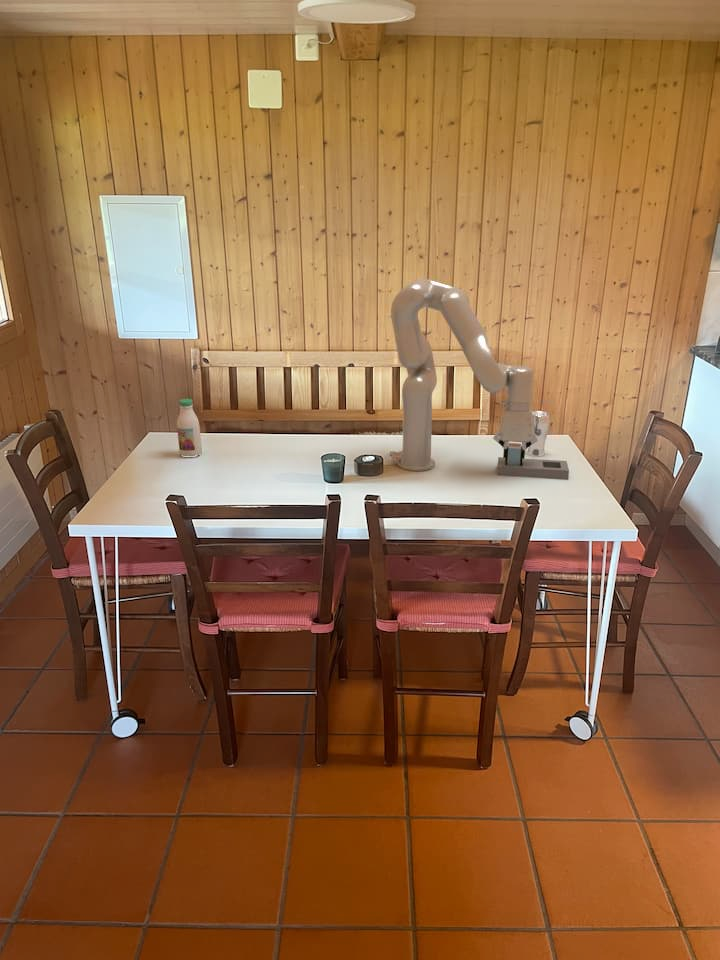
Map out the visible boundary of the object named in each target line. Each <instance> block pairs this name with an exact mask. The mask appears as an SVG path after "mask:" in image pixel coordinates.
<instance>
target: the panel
mask: <svg viewBox="0 0 720 960" xmlns="http://www.w3.org/2000/svg"><path fill="white" fill-rule="evenodd" d="M569 473H570V468H569V466H568V461H567V460H557V459H555V460H554V459H538V458H524V459H522V462H520V466H512V465H507V461H505V458H503V456H502V457H501V456H498V458H497V474H496V475H497V476H502V477H520V478H531V479H532V478H536V479H537V478H538V479H553V480H569Z"/></svg>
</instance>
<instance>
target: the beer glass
mask: <svg viewBox="0 0 720 960" xmlns="http://www.w3.org/2000/svg"><path fill="white" fill-rule="evenodd" d="M532 413H533V433H534V434H535V436H536V438H537V442H536V443H534V444H532V445H531V446H529V447H528V448H527V452H526V454H527V455H528V456H531V457H536V458H537V457H543V456H545V455H546V453H545V444H546V440H547V436H548V433H549V428H550V427H549V426H550V413H549V412H547V411H544V410H543V411H542V410H534V411H533V410H532Z"/></svg>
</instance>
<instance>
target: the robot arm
mask: <svg viewBox="0 0 720 960" xmlns="http://www.w3.org/2000/svg"><path fill="white" fill-rule="evenodd" d="M424 308H428V309H431V310H435V311H439V312H440V314H441V315H442V317H443V318H444V320H445V322H446V323H447V325H448V326H449V328H450V330H451V332H452V334H453V335H454V337H455V339H456V340H457V342H458V343H459V345H460V347H461V350H462V352H463V354H464V356H465V358H466V361H467V363H468V364H469V367H470V368H471V371H472V372H473V374H474V376H475V378H476V379H477V380H478V383H479V384H480V385H481V387H482V388H483V390H485V391H486V392H487V393H490V394H497V393H500V392H502V391H503V390H504V388H505V387H506V397H505V398H506V399H505V400H504V401H501V406H503V407H504V408H503V410H502V414H501V417H500V418H501V419H500V425H499V429H498V431H497V432H496V433H495V434H494V436H493V440H494V441H496V442H497V443H498V444H499V445H500V446H501V447H502V449H503V456H502V457H503V458H505V461H507V459H508V443H521V457H520V462H522V459H525V458H526V457H525V455H526V450H528V448H529V446H531V445H532V444H534V443H536V442H537V438H536V436H535V434H534V433H533V413H532V411H533V410H532V409H531V402H532V392H533V380H534V379H533V378H534V371H533V369H532V368H531V367H530V366H527V365H509V364H504V363H499V362H497V361H496V360H495V358H494V355H493V354H492V351H491V348H490V347H489V343H488V337H487V333H486V331H485V329H484V327H483V325H482V324H481V322H480V320H479V319H478V317H477V316H476V313H475V312H474V310H473V309H472V307H471V306H470V298H469V296H468V293H467V292H466V291H465V290H463V289H462V288H458V287H456V286H451V285H447V284H444V283H441V282H437V281H433V280H431V279H428V278H427V279H426V278H418V279H415V280H414V281H412V282H410V283H408V284H406V286H404V287H403V288H402V289H400V291H398V293H396V295H395V297H394V299H393V301H392V303H391V308H390V319H391V323H392V329H393V333H394V334H393V335H394V340H395V346H396V352H397V358H398V360H399V362H400V365H401V366H402V367H403V368H405V369H406V371H407V372H406V373H407V377H406V378H405V380H404V381H403V383H402V388H401V389H402V390H401V397H402V398H401V399H402V450H398V451H395V450H394V451H393V450H392V451H391V450H390V451H389V457H390V458H392V460H397V466H398V467H400V468H401V469H403V470H406V471H413V472H420V471H421V472H423V471H429V470H431V469H433V468H435V467H436V460H435V459H434V458H433V457H432V454H431V453H432V429H433V426H432V425H433V401H432V400H433V392H434V390H435V389H436V386H437V383H438V382H437V381H438V376H437V372H436V366H435V360H434V354H433V349H432V346H431V344H430V342H429V340H428V339H427V338H426V337H425V336H423V334H422V329H421V324H420V320H419V312H420V310H421V309H424Z"/></svg>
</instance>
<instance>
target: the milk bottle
mask: <svg viewBox="0 0 720 960" xmlns="http://www.w3.org/2000/svg"><path fill="white" fill-rule="evenodd" d="M178 405H179V408H180V409H179V415H178V417H177V420H176V427H177V428H176V431H177V439H178V450H179V454H181V455H183V456H195V455H199V454H201V453H202V454H203V447H202V438H201V427H200V426H201V425H200V422H199V421H200V420H199V419H198V417H197V415H196V413H195V411H194V408H193V406H194V405H193V399H191V398H183V399H182V398H181V399H179V401H178ZM202 454H201V455H202ZM181 455H180V456H181Z"/></svg>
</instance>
